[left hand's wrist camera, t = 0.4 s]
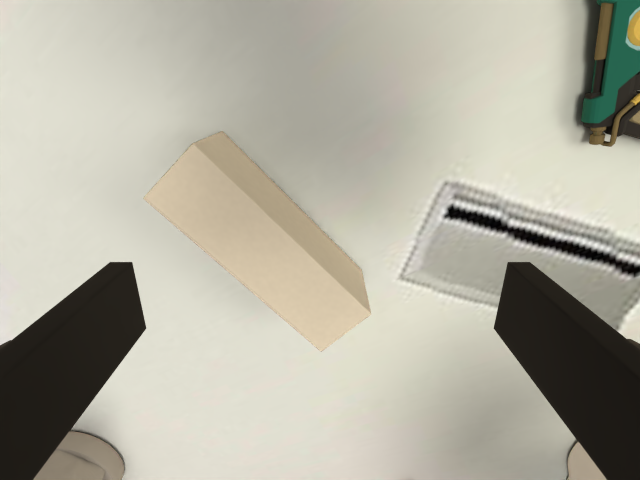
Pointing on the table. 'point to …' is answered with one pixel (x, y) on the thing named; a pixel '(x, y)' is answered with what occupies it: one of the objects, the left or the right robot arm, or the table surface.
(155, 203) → the box
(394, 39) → the table surface
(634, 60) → the spray gun
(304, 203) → the table surface
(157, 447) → the table surface
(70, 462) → the bust sculpture
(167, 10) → the table surface
